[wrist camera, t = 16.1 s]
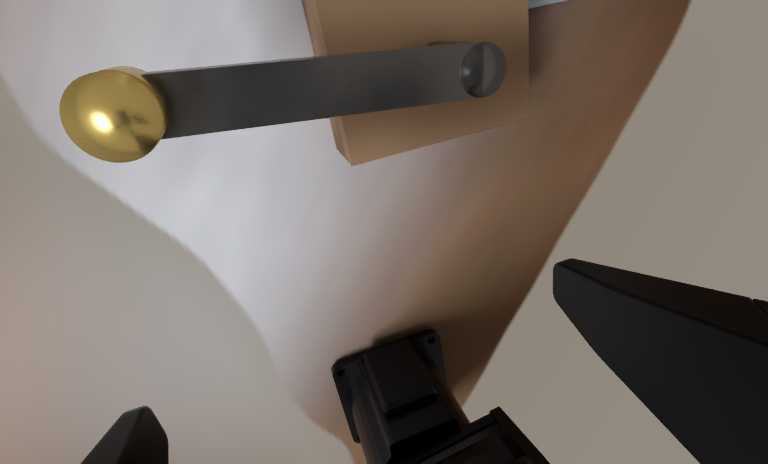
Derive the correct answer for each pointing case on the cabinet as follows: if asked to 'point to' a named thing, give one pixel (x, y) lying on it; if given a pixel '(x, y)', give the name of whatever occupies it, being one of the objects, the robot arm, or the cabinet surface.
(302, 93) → the lever
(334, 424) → the cabinet surface
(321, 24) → the body
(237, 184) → the cabinet surface
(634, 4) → the cabinet surface
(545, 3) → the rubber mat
